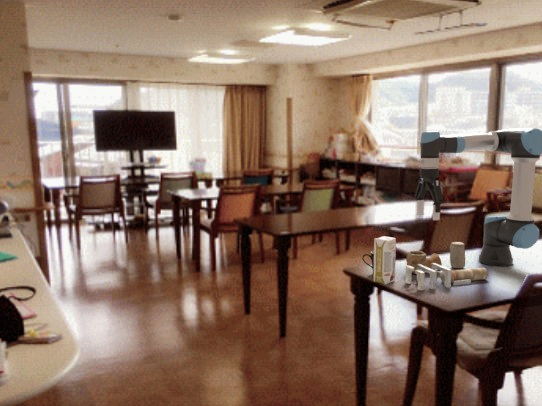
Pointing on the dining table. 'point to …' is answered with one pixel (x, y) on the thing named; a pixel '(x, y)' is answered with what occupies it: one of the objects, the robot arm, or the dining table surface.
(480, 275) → the dowel
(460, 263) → the carving
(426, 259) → the pipe
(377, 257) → the juice carton
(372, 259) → the coffee mug
